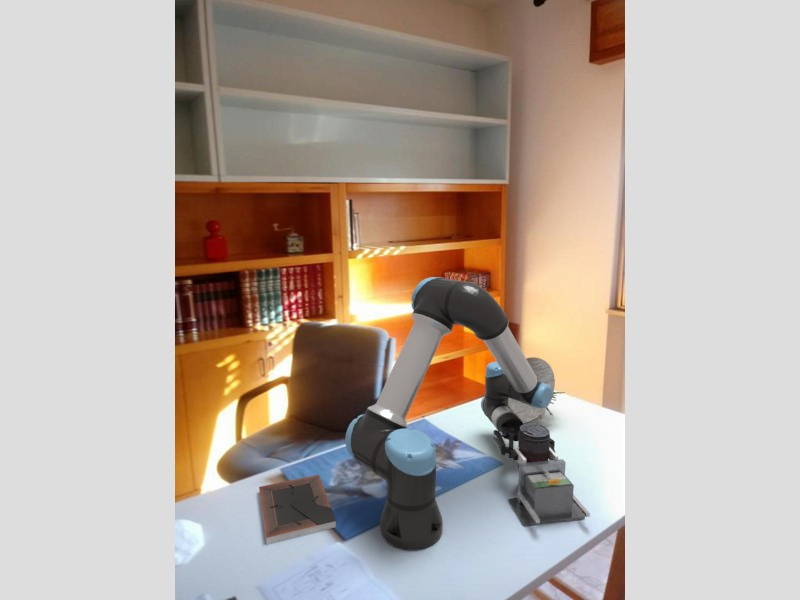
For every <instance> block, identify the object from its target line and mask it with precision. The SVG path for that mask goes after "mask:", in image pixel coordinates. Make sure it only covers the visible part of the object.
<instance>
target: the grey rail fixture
mask: <svg viewBox="0 0 800 600" xmlns="http://www.w3.org/2000/svg"><path fill="white" fill-rule="evenodd" d="M566 464H567V463H566V461H565V459H563V458H562V459H561V458H560V459H558V460H548V461H539V462H529V463H519V473H518V477H517V478H518V479H517V498H518V499H517V500H518V502H519V503H520V504H522V503H523V504H524V506H525V507H526V509H527V510H528V512H529V513H530V515H531V516H532V518H533V519H534V521H535V522H536V523H540V519H539V517H538V516H537V514H536V513H535V512H534V510H533V509H532V507H531V506H530V504H529V503H528V501H527V500H526V498H525V497H524V487H525V476H526V475H536V474H545V475H546V477H547V478H548V479H549V480H547V484H548V485H552V484H560V479H554V478H553V477H552V476H551V474H550V473H555V472H562V473H563V474H564V475H565V476H566ZM573 502H574V504H575V505H576V506H577V507H578V508H579V510H580V511H581V512H582V513H583V514H584V516H585V518H590V515H591V513H590V512H589V511H588V510H587V508H586V507H585V506H584V505H583V504H582V502H581V501H580V500H579V499H578V497H576V495H575V494H574V493H573Z"/></svg>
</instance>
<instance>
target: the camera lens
mask: <svg viewBox="0 0 800 600" xmlns="http://www.w3.org/2000/svg"><path fill="white" fill-rule="evenodd" d="M550 438H551V435H550V430H549V428H547V427H546V426H544V425H542V424H539V423H535V422H534V423H533V422H529V423H528V422H526V423H523V425H522V426H521V427H520V430H519V438H518V441H517V442H518V443H517V444H518V446H517V448H518V450H519V451H520V452H521V453H522V455H523V456H524V457H525V458H526V463H529V462H539V461H549V459H548V454H549V447H550ZM517 471H518V474H519V463H518V462H517Z"/></svg>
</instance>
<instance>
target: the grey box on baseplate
mask: <svg viewBox="0 0 800 600" xmlns="http://www.w3.org/2000/svg"><path fill="white" fill-rule="evenodd" d="M550 474H551V476H552V477H553V478H554V479H560V484H552V485H548V484H547V480H549V479H548V478H547V477H546V475H545V474H536V475H526V476H525V487H524V497H525V498H526V500H527V501H528V503H529V504H530V506H531V507H532V509H533V510H534V512H535V513H536V514H537V516H538V517H539V519H540V523H536V522H535V521H534V519H533V518H532V516H531V515H530V513H529V512H528V510H527V509H526V507H525V506H524V504H523V503H522V504H520V503H519V502H518V500H517V499H518V497H511V498H510V497H509V498H507V503H508V504H509V505H510V506H511V508H512V511H514V513H515V515H516V516H517V518H518V520H519V522H520V523H521V524H522V526H523V527H531V526H538V525H548V524H555V523H563V522H572V521H580V520H585V519H586V517H585V515H584V514H583V513H582V512H581V511H580V509H579V508H578V507H577V506H576V505H575V503H574V502H573V494H574V488H575V487H574V486H575V485H574V484H573V483H572V482H571V480H570V479H569V478H568V477H567V476H566V474H565V475H564V474H563V473H562V472H555V473H550Z"/></svg>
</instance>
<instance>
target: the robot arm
mask: <svg viewBox="0 0 800 600" xmlns="http://www.w3.org/2000/svg"><path fill="white" fill-rule="evenodd" d="M411 309H412V312H411V313H412V314H411V317H412V318H411V319H412V321H413V324H412V326H411V329H410V330H409V333H408V335H407V337H406V340H405V341H404V344H403V345H402V348H401V350H400V353H399V355H397V358H396V360H395V362H394V364H393V366H392V368H391V371H390V372H389V375H388V378H387V379H386V382H385V384H384V386H383V388H382V390H381V392H380V395H379V397H378V398H377V401H376V403H375V404H373V405H370V406H368V407H367V408H366V411H365V413H364V414H360V415H358V416H356V417H357V418H354V419H352V421H351V422H350V423H349V425H348V427H347V430H346V432H345V439H344V441H345V446H346V450H347V453H348V454H349V456H350V457H351V458H352V459H354V461H355V462H357V464H359V465H362V466H363V467H365V468H366V469H368V470H369V471H370V472H372V473H374V474H375V475H376V476H378V477H379V478H380V479H383V480H384V481H385V484H386V501H385V503H384V505H383V506H384V507H383V510H382V512H381V515H380V520H379V531H380V534H381V536H382V538H383V540H385V542H386V543H388V544H389V545H391V546H393V547H395V548H399V549H401V550H408V551H413V550H414V551H416V550H422V549H426V548H428V547H430V546H433V545H434V544H435V543H436V542H437V541H439V540H440V538H441V536H442V534H443V530H444V529H443V523H444V522H443V516H442V514H441V511H440V508H439V505H438V502H437V499H436V486H437V485H436V483H437V481H436V479H437V475H436V474H437V455H436V446H435V443H434V441H433V439H432V438H431V437H430V436H429V435H428V434H426V433H425V432H423V431H421V430H418V429H410V428H408V427H409V426H408V423H407V420H406V418H407V416H408V413H409V411H410V409H411V407H412V405H413V403H414V400H415V399H416V396H417V393H418V391H419V389H420V387H421V384H423V383H422V382H423V381H424V378H425V376H426V375H427V371H428V369H429V367H430V365H431V363H432V361H433V358H434V356H435V354H436V352H437V350H438V348H439V345H440V343H441V341H442V338H443V337H444V336H447V335H449V334H451V333H452V330H453V328H454V325H458V326H461V327H464V328H466V329H469V330H470V331H471V332H472V333H473V335H475V337H476V338H477V339H478V340H481V341H483V343H484V344H485V346H486V348H487V349H488V350H489V352H490V353H491V355H492V356H493V358H494V359H495V361H492V362H489V363H488V364H487V365H486V368H485V376H484V378H485V380H484V382H485V383H484V384H485V386H484V388H485V389H484V393H485V394H484V395H483V398H482V399H481V401H480V407H481V410H482V412H483V414H484V415H485V417H486V418H487V419H488V420H489V421H490V422H491V424H493V426H494V428H495V429H494V430H493V435H492V436H493V440H494V441H495V442H496V444H497V446H498V449H499V452H500V454H501V455H502V456H506V455H507V456H508V457H507V458H508V459H512V460H513V461H516V462H517V464H518V463H526V458H525V457H524V456H523V455H522V453H521V452H520V451H519V450H518V449H519V447H518V446H515V447H514V442H518V438H519V430H520V427H521V426H522V425H523V424H524V423H523V422H522V420H521V419H520V418H519V417H518V416H517V415H516V414H515V413H514V412H513V411H512V409H511V408H510V407H509V406H508V398H511V399H514V400H517V401H519V402H522V403H525V404H527V405H530V406H532V407H536V408H540V409H544V408H546V407H549V406H550V402H552V400H551V399H553V398H552V388H551V387H550V386H549V385H547V384H545V383H541V382H539V380H538V379H537V377H536V375H535V373H534V371H533V370H532V368H531V366H530V364H529V363H528V361H527V359H526V358H527V357H526V356H525V354H524V352H523V350H522V348H521V347H520V345H519V343H518V342H517V340H516V338H515V336H514V335H513V332H512V331H511V329H510V327H509V323H510V322H509V317H508V315H506V313H505V311H504V310H503V307H501V305H500V304H499V303H498V301H497V300H496V299H495V297H493V296H492V294H490V293H489V292H488V291H487V290H486V288H483V287H482V286H481V285H478V284H477V283H474V282H472V281H471V282H470V281H463V280H456V279H452V278H451V279H450V278H446V277H441V276H438V277H431V276H430V277H427V278H424V279H422V280H421V281H419V283H418V284H417V285H416V286H415V288H414V290H413V292H412V295H411ZM505 439H506V440H508V446H506V443H505V441H504V440H505ZM555 445H556V443H555V439H552V438H551V437H550V447H549V454H548V461H550V460H559V455H558V454H557V453H556V450H555Z"/></svg>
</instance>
